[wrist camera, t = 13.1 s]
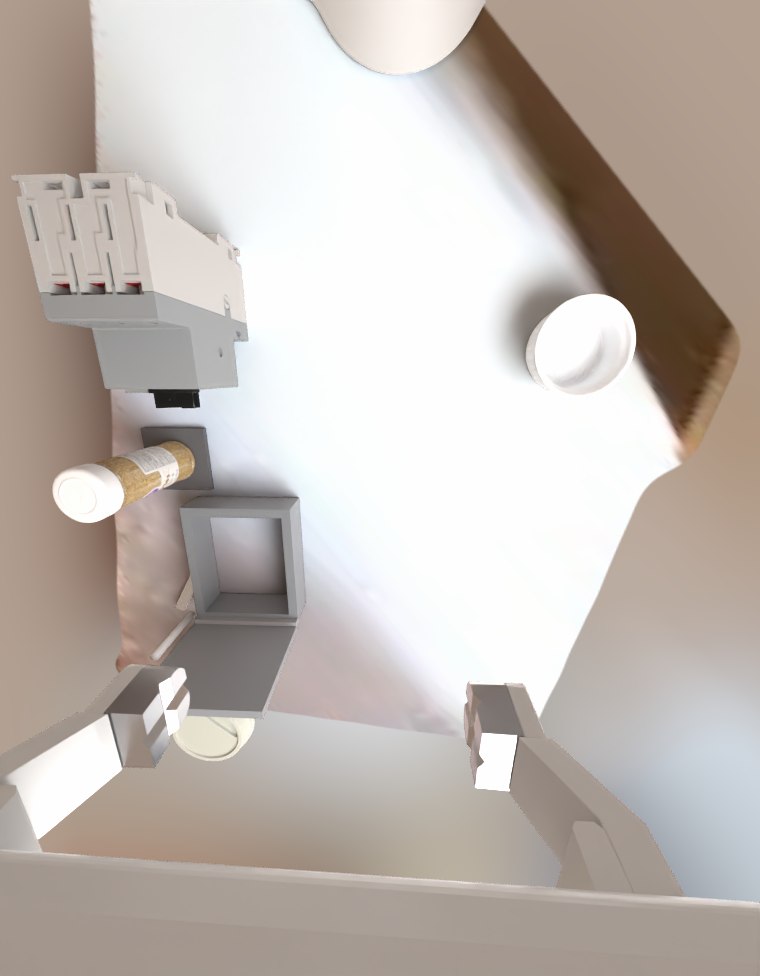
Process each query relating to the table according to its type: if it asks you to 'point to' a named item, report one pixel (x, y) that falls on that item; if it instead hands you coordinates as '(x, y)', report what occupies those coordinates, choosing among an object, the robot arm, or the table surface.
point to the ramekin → (582, 346)
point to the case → (235, 615)
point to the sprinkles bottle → (120, 480)
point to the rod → (185, 596)
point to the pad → (196, 444)
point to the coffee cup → (213, 736)
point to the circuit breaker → (136, 282)
